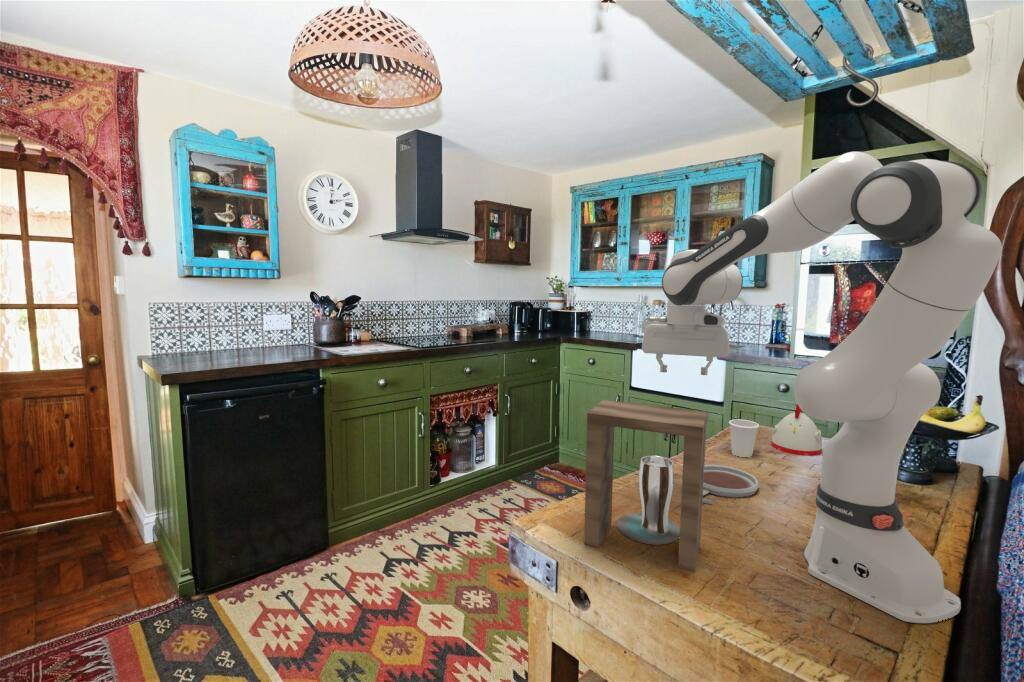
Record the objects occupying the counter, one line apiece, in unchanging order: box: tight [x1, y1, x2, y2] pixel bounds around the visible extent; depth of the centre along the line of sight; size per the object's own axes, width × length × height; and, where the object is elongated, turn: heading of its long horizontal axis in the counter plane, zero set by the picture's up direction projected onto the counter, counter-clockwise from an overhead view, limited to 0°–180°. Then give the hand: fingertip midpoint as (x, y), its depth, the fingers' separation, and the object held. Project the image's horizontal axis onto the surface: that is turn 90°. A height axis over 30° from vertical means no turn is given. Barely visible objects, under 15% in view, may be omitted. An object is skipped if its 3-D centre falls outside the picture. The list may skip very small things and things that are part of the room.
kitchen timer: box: [771, 403, 823, 457], centre depth 153 cm, size 14×14×15 cm
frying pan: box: [680, 464, 760, 505], centre depth 122 cm, size 17×3×28 cm
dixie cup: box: [728, 418, 760, 458], centre depth 147 cm, size 8×8×10 cm
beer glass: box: [638, 455, 675, 536], centre depth 101 cm, size 7×7×15 cm
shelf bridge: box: [583, 399, 709, 572], centre depth 99 cm, size 18×21×27 cm
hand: (683, 373), depth 118 cm, fingers open, 8 cm apart
